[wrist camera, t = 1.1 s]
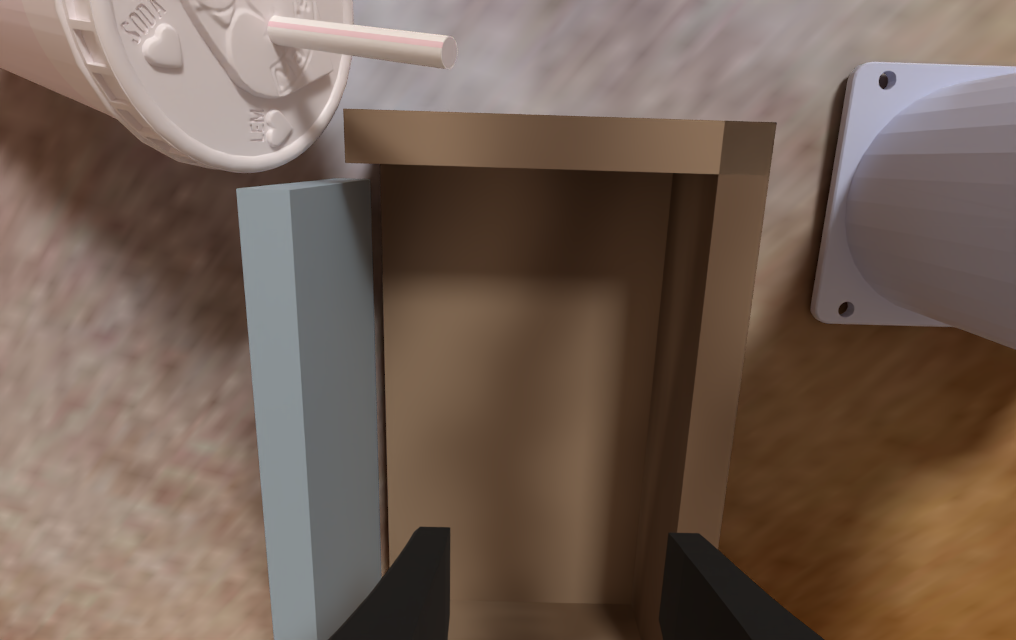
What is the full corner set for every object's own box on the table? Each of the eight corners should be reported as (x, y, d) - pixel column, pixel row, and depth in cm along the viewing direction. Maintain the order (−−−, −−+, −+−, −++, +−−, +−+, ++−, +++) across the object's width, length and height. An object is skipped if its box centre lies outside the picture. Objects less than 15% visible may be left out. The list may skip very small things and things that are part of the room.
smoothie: (75, 145, 19) (461, 251, 13) (-237, 37, 13) (238, 150, 7) (132, -55, 19) (545, -29, 13) (-157, -259, 13) (384, -356, 7)
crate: (706, 132, 19) (776, 122, 14) (654, 612, 23) (693, 731, 18) (385, 122, 19) (343, 108, 14) (395, 607, 23) (366, 724, 18)
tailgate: (370, 179, 18) (289, 190, 11) (381, 587, 22) (325, 779, 15) (337, 178, 18) (236, 188, 11) (353, 586, 22) (285, 778, 15)
